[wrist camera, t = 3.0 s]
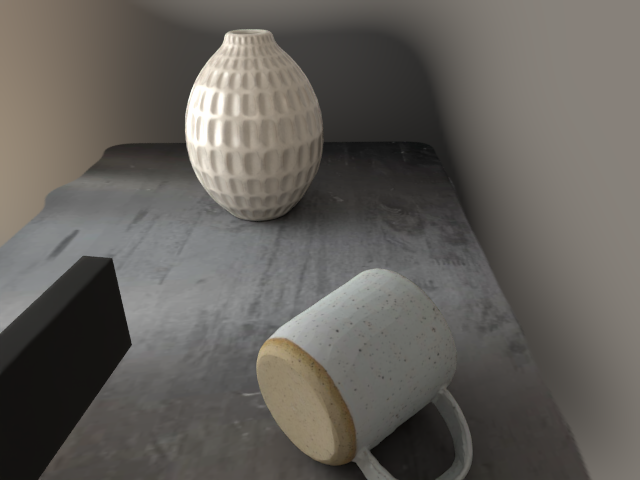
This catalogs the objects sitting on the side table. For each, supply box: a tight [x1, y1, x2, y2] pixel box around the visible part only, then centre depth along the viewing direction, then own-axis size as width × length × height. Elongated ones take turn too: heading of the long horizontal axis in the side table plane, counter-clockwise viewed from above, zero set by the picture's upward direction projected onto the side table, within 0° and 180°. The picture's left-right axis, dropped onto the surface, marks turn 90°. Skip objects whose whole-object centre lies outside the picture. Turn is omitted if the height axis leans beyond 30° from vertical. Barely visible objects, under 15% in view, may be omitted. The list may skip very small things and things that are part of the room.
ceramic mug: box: [257, 269, 473, 480], centre depth 25 cm, size 11×8×8 cm
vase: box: [185, 29, 323, 221], centre depth 48 cm, size 13×13×17 cm
